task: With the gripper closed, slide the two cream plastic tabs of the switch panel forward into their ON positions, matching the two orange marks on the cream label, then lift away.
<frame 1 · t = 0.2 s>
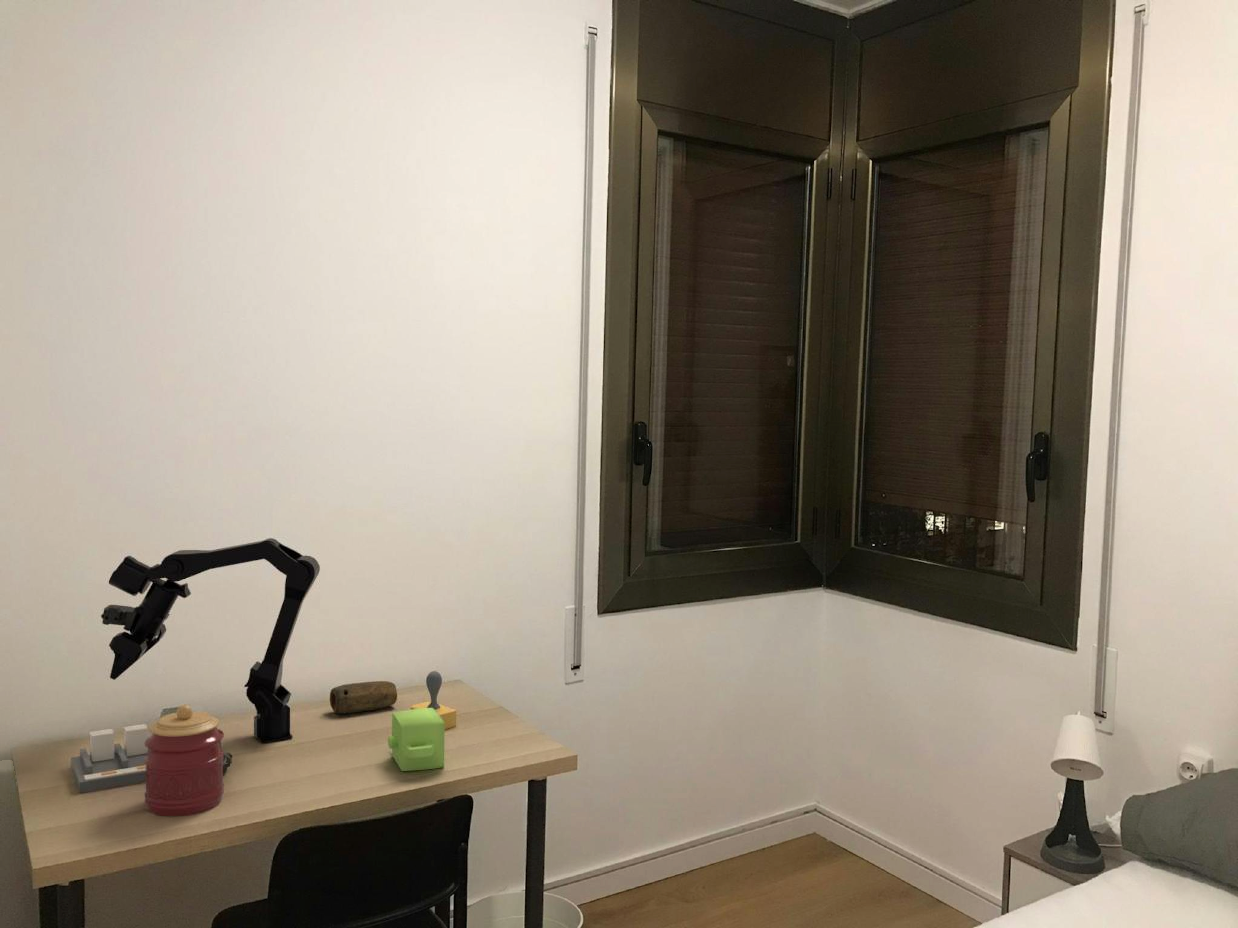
hand: (119, 672, 212), 14 cm above the table, fingers open, 9 cm apart
canister: (184, 803, 181), on the table
rubber stamp: (433, 724, 228), on the table
tab 2: (136, 739, 199), point 5 cm above the table, slide at 0.0 cm
switch panel: (121, 769, 196), on the table
tab 1: (101, 745, 196), point 5 cm above the table, slide at 0.0 cm
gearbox: (412, 762, 204), on the table
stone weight: (363, 711, 237), on the table
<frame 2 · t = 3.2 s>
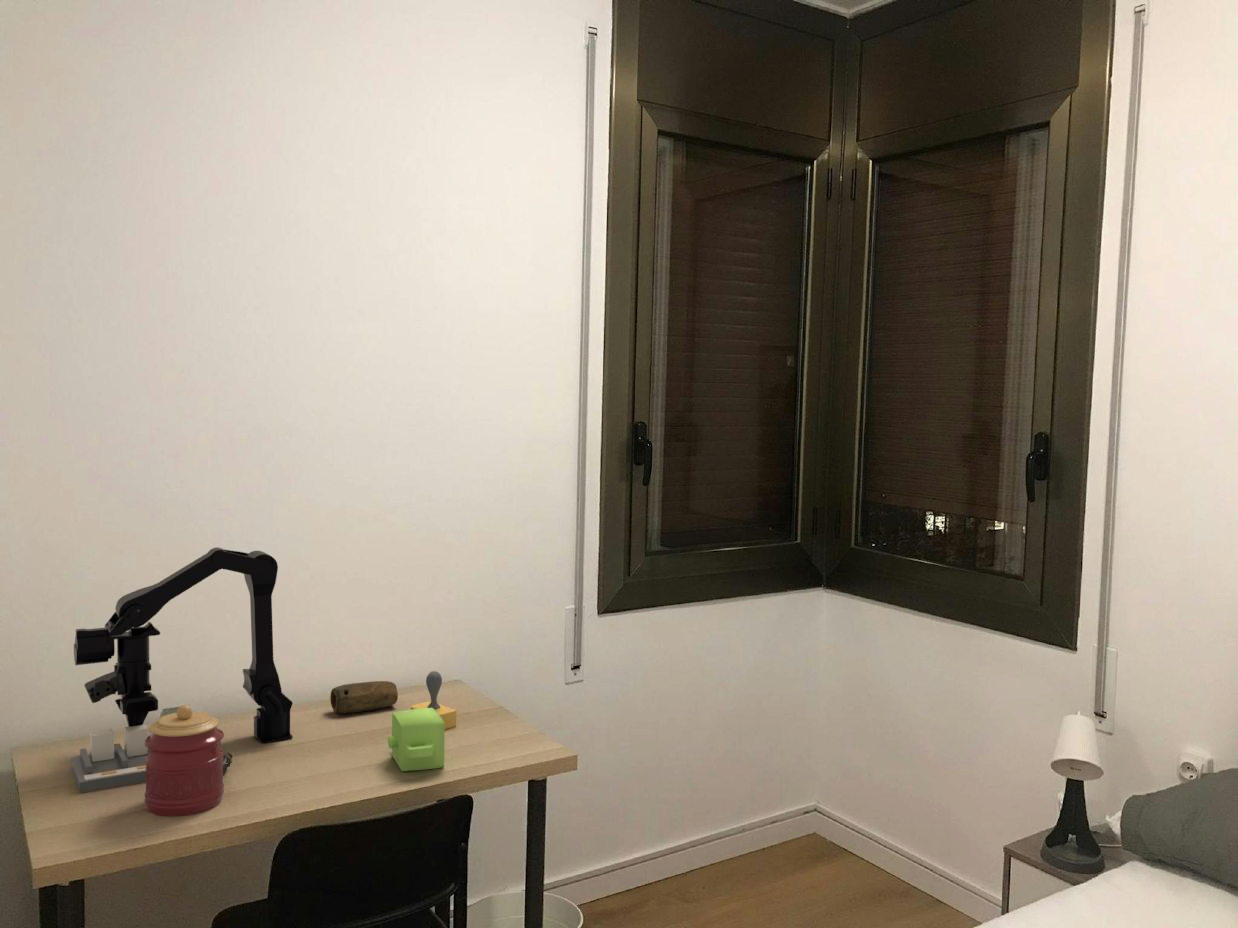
hand: (134, 736, 202), 4 cm above the table, fingers closed
tab 2: (136, 740, 199), point 5 cm above the table, slide at 0.4 cm, touching gripper
everything else where it was.
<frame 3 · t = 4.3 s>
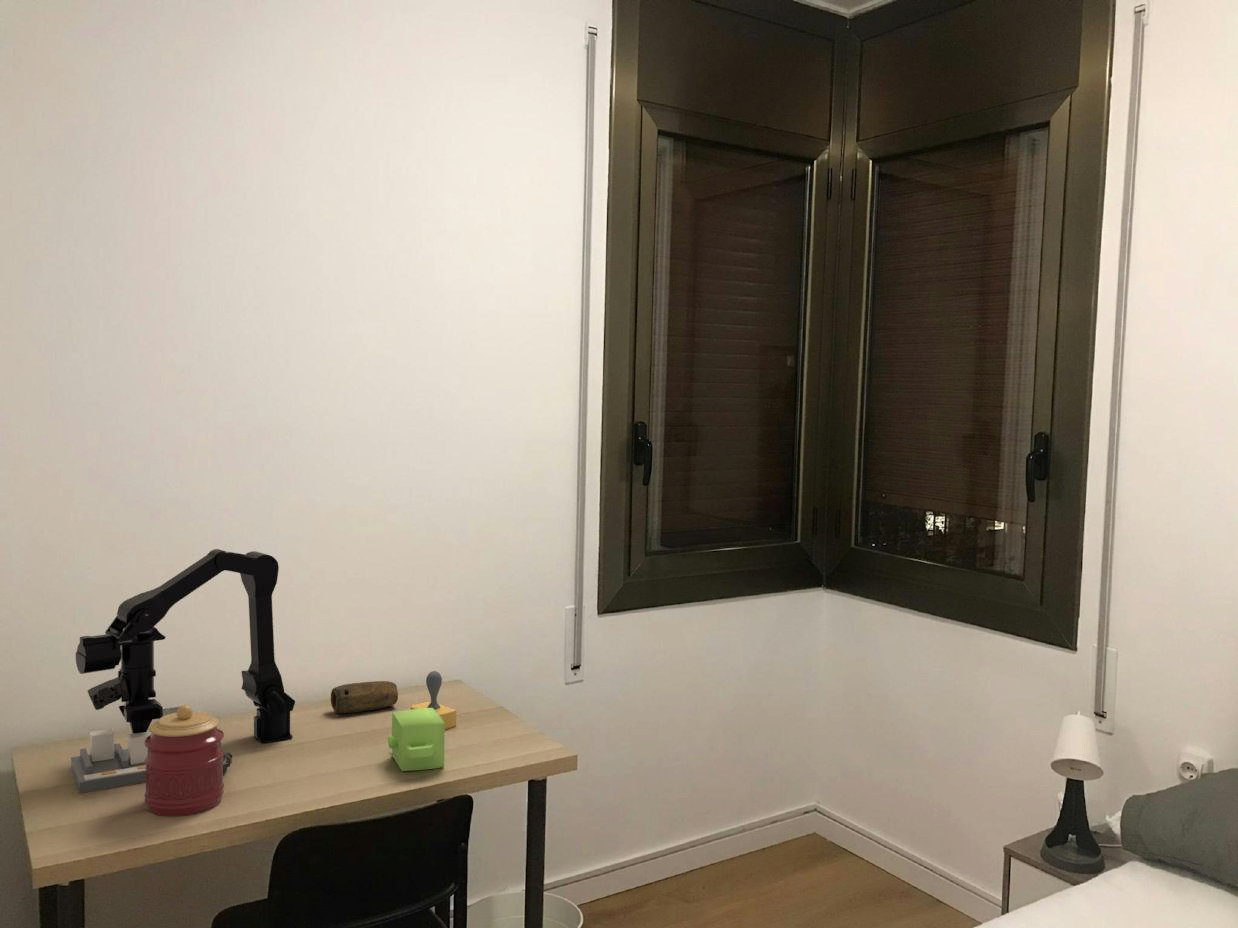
hand: (137, 743, 197), 5 cm above the table, fingers closed
tab 2: (140, 747, 195), point 5 cm above the table, slide at 5.2 cm, touching gripper
everything else where it was.
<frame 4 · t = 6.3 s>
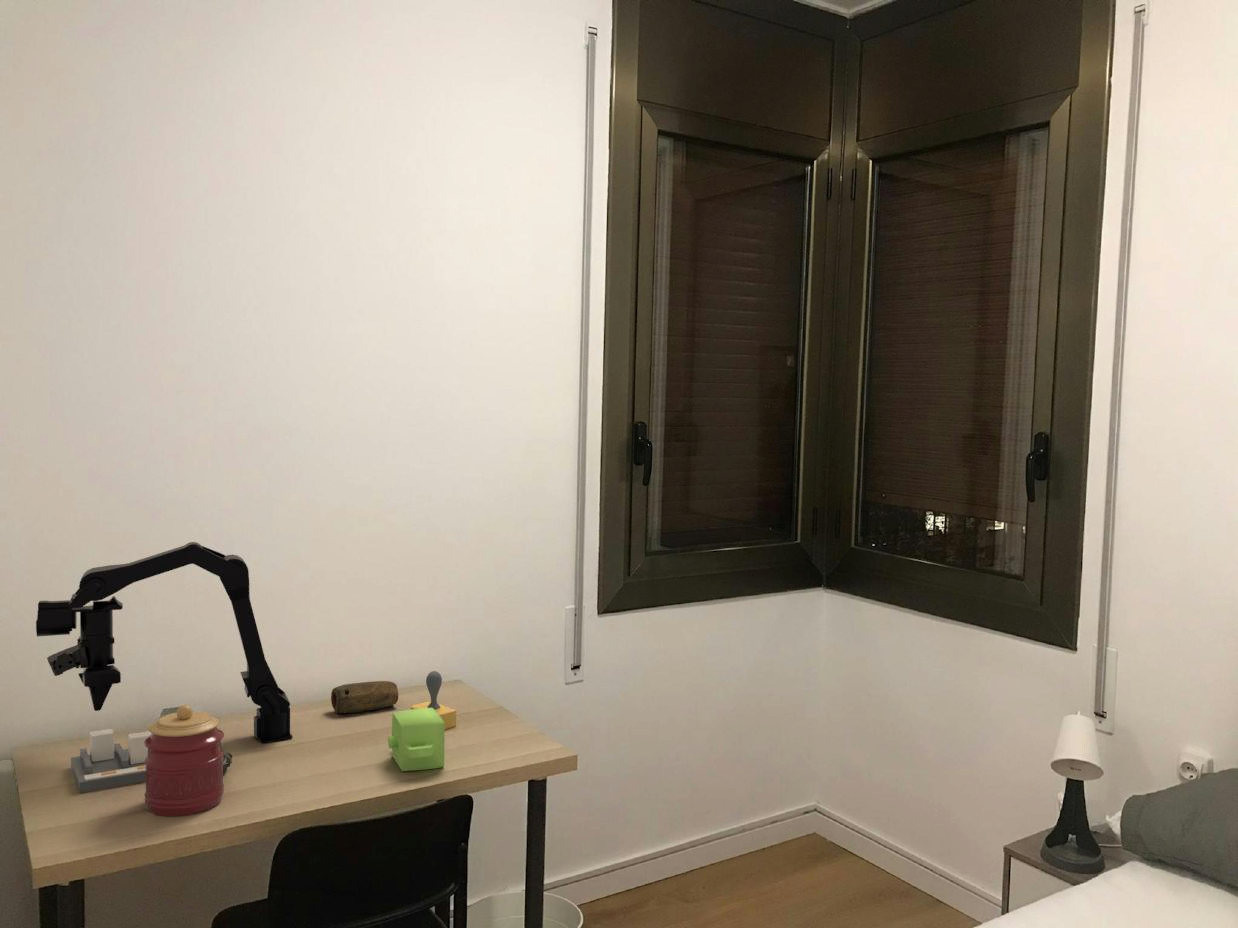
hand: (97, 710, 202), 9 cm above the table, fingers closed
tab 2: (140, 747, 195), point 5 cm above the table, slide at 5.1 cm
everything else where it was.
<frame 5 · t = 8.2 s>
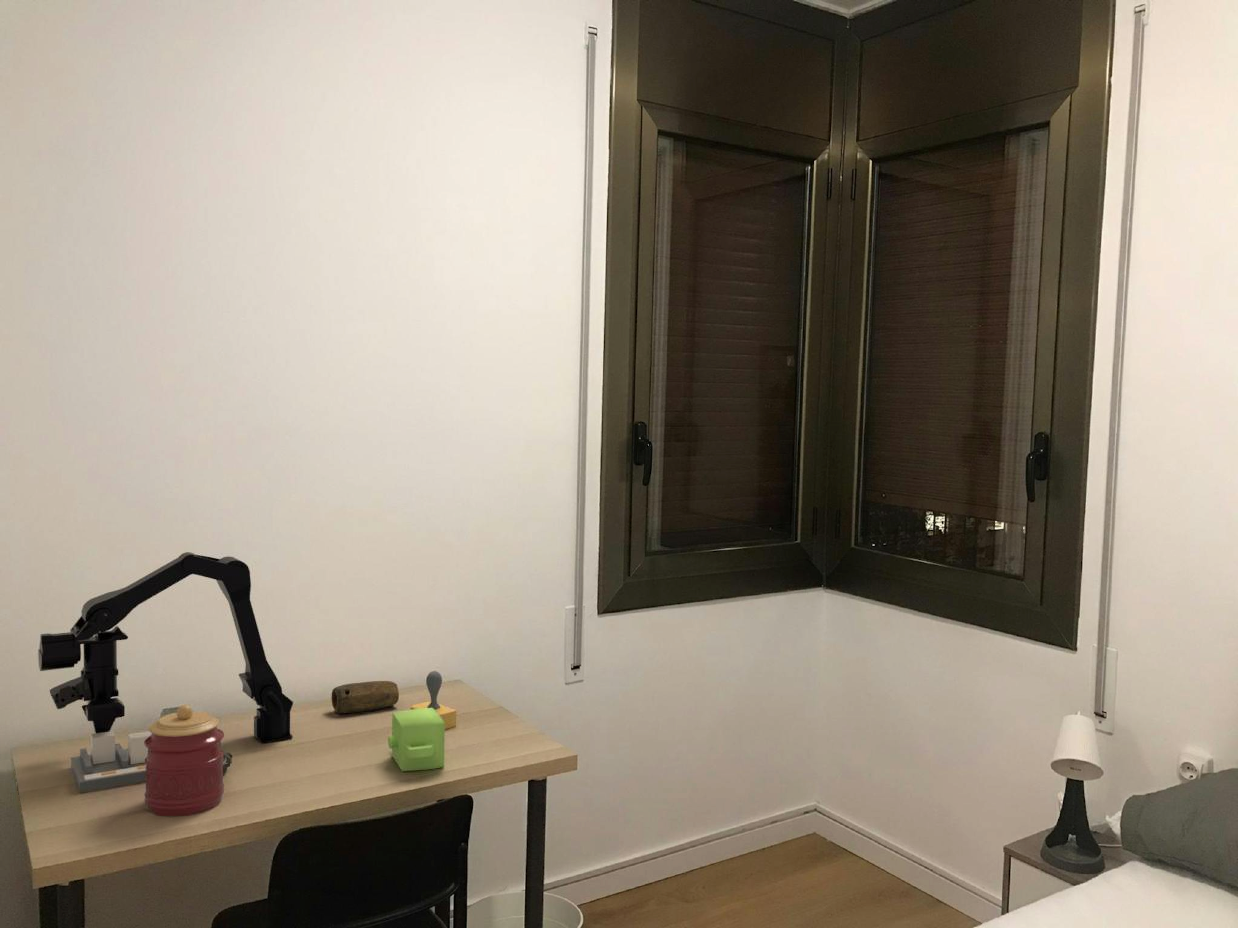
hand: (101, 743, 197), 5 cm above the table, fingers closed
tab 1: (102, 747, 195), point 5 cm above the table, slide at 1.6 cm, touching gripper
everything else where it was.
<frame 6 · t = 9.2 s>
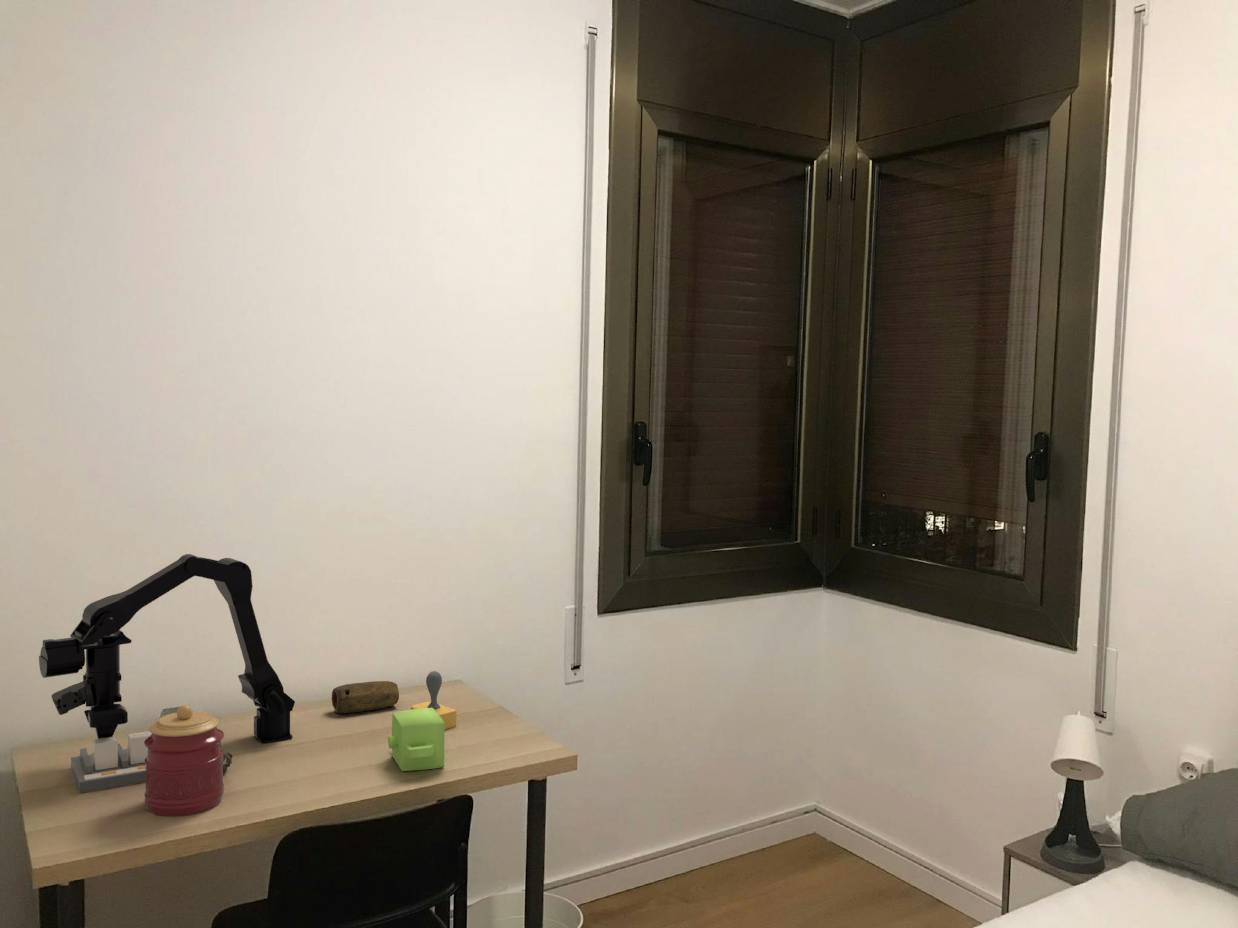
hand: (103, 748, 194), 5 cm above the table, fingers closed
tab 1: (105, 753, 192), point 5 cm above the table, slide at 5.2 cm, touching gripper
everything else where it was.
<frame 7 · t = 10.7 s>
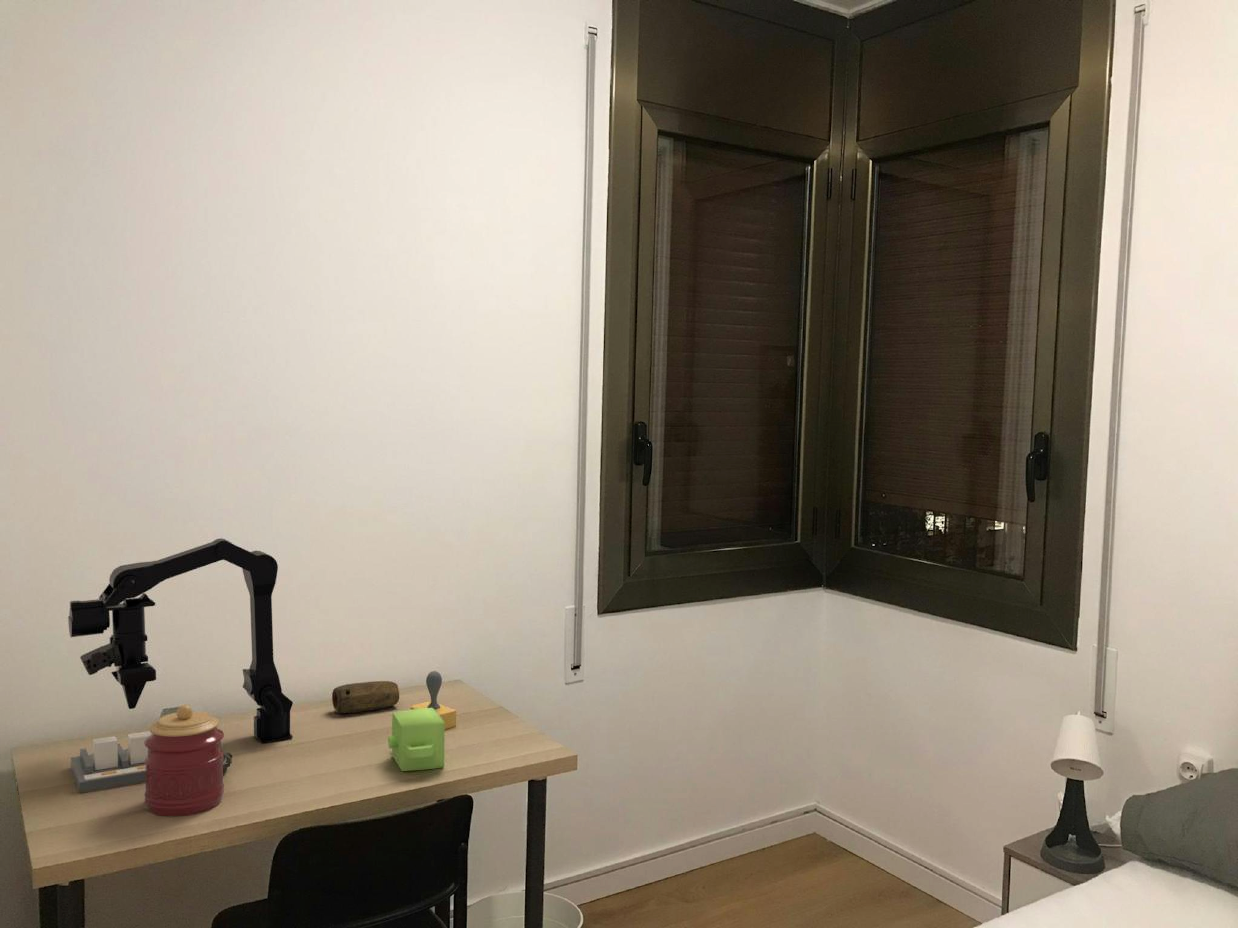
hand: (131, 708, 201), 10 cm above the table, fingers closed
tab 1: (105, 752, 192), point 5 cm above the table, slide at 5.1 cm
everything else where it was.
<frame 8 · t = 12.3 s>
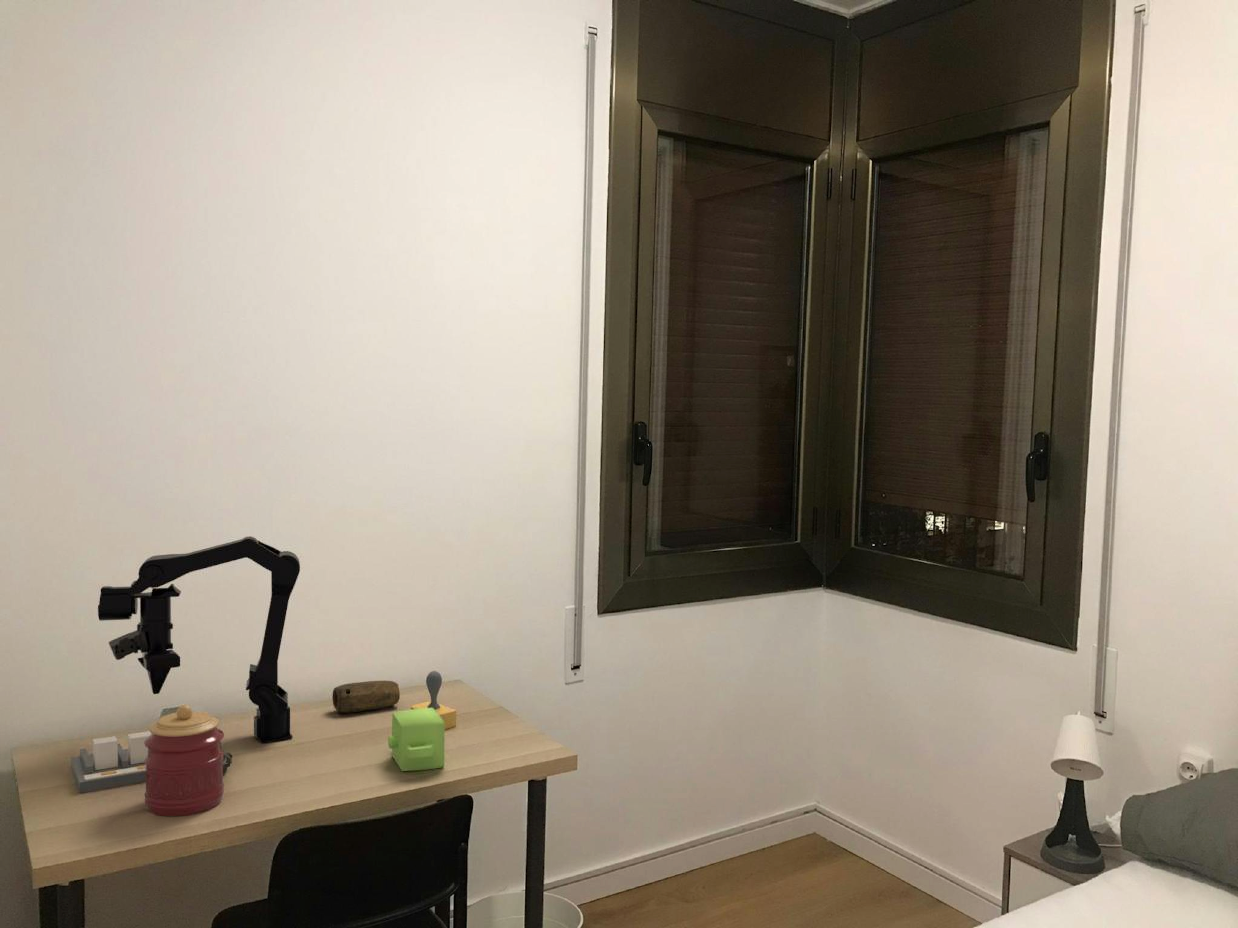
hand: (155, 693, 209), 11 cm above the table, fingers closed
nothing on the table moved.
at the end: tab 2 slide at 5.1 cm; tab 1 slide at 5.1 cm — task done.
